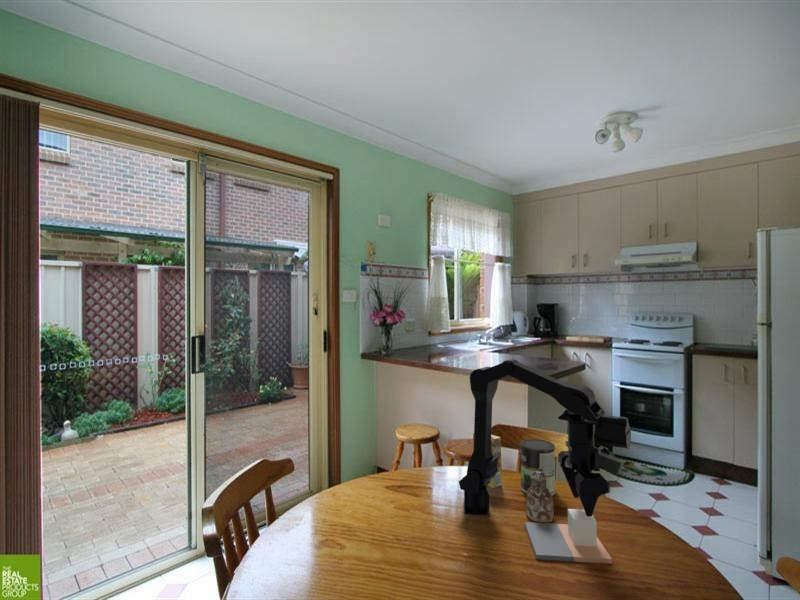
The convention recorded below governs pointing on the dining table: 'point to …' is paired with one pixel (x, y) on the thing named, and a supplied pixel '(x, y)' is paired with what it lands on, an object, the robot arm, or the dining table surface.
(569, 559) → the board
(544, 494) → the figurine
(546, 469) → the coffee can
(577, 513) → the cream block
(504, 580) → the dining table surface
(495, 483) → the candy box
